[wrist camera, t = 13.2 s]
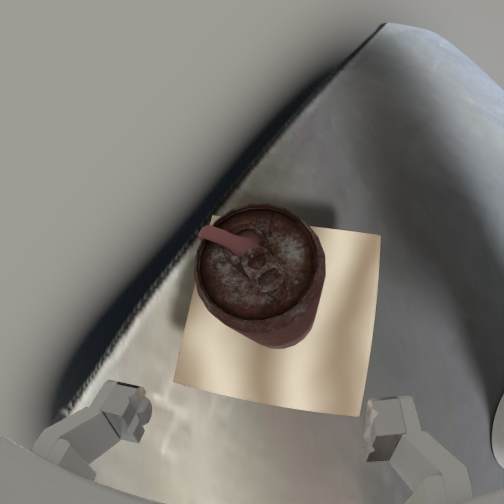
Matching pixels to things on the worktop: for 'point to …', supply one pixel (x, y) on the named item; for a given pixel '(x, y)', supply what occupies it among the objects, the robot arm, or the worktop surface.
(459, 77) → the worktop surface
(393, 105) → the worktop surface
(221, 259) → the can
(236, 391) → the small table
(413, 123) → the worktop surface
